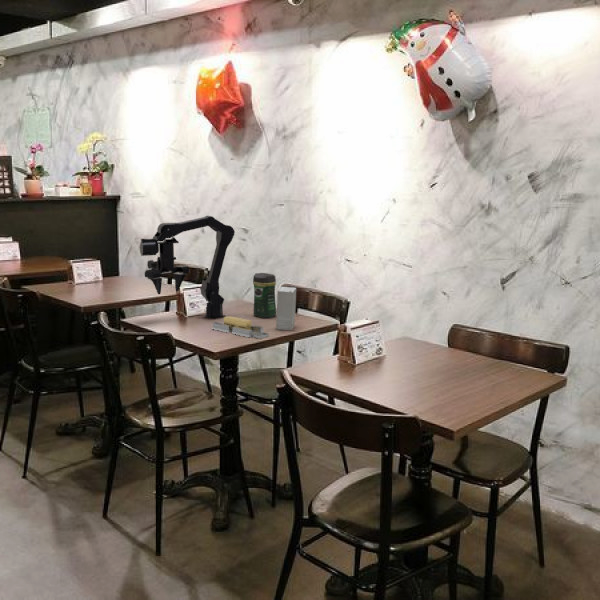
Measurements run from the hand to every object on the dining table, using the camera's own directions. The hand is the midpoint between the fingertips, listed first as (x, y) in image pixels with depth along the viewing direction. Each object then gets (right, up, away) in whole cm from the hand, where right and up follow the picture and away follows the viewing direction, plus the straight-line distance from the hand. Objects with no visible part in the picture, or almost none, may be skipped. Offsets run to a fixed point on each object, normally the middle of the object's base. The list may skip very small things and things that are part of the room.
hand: (168, 292), depth 268 cm
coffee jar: (+39, -10, +13) cm, 42 cm away
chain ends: (+31, -15, -16) cm, 38 cm away
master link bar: (+30, -14, -15) cm, 36 cm away
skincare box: (+48, -14, -8) cm, 51 cm away
